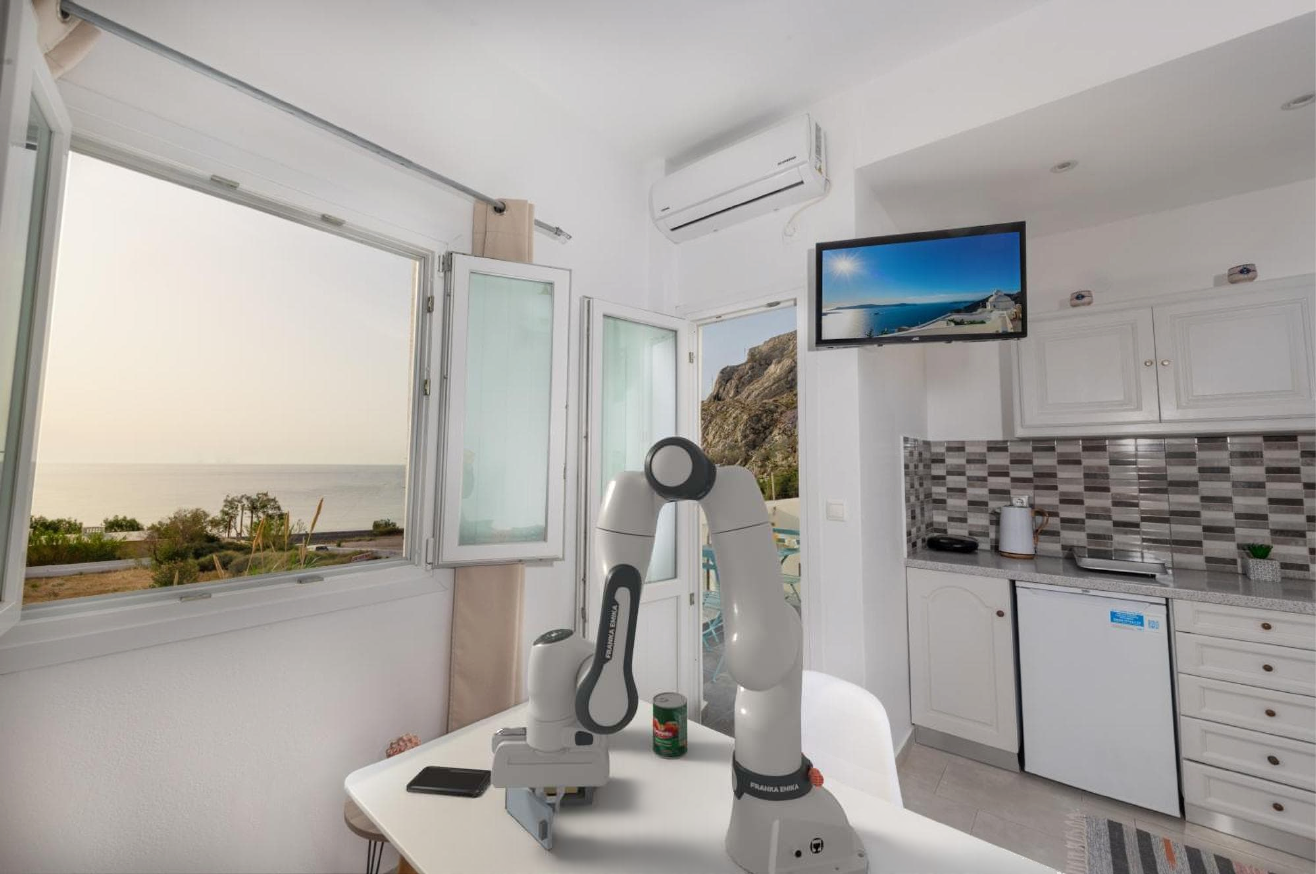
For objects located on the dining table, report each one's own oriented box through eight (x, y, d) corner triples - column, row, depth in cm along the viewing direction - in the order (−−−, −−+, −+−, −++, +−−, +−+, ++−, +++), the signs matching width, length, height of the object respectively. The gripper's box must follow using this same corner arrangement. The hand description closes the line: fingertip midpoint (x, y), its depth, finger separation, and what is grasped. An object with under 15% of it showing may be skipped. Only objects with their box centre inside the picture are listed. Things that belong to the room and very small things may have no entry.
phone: (476, 793, 97) (403, 787, 99) (476, 800, 97) (403, 793, 99) (494, 770, 105) (427, 765, 107) (494, 776, 105) (426, 770, 107)
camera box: (601, 774, 105) (602, 739, 106) (599, 804, 95) (599, 765, 96) (517, 777, 104) (518, 741, 105) (506, 808, 94) (507, 768, 95)
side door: (552, 847, 84) (553, 808, 84) (542, 853, 82) (542, 813, 83) (509, 805, 94) (509, 771, 95) (499, 810, 93) (500, 775, 94)
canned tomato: (688, 741, 118) (688, 692, 119) (687, 760, 111) (686, 707, 111) (654, 740, 119) (654, 691, 120) (650, 758, 111) (650, 706, 112)
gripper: (486, 737, 86) (484, 824, 85) (608, 735, 86) (607, 821, 85) (497, 719, 92) (494, 800, 91) (610, 717, 93) (609, 797, 92)
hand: (550, 810), depth 88 cm, fingers closed
